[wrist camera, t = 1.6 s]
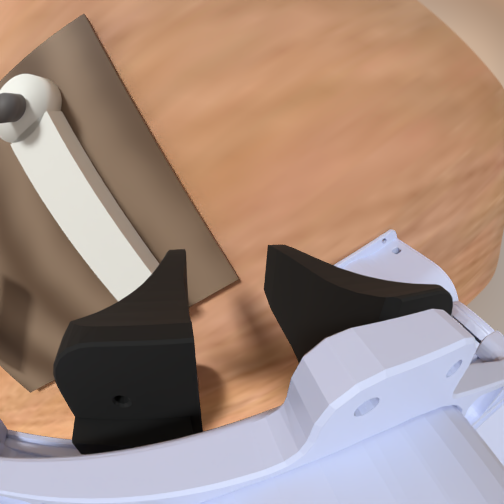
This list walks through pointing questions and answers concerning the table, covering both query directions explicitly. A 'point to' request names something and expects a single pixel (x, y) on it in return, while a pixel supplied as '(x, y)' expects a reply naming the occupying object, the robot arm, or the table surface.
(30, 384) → the pivot board
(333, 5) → the table surface
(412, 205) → the table surface
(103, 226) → the pivot bar
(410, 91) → the table surface
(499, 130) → the table surface
